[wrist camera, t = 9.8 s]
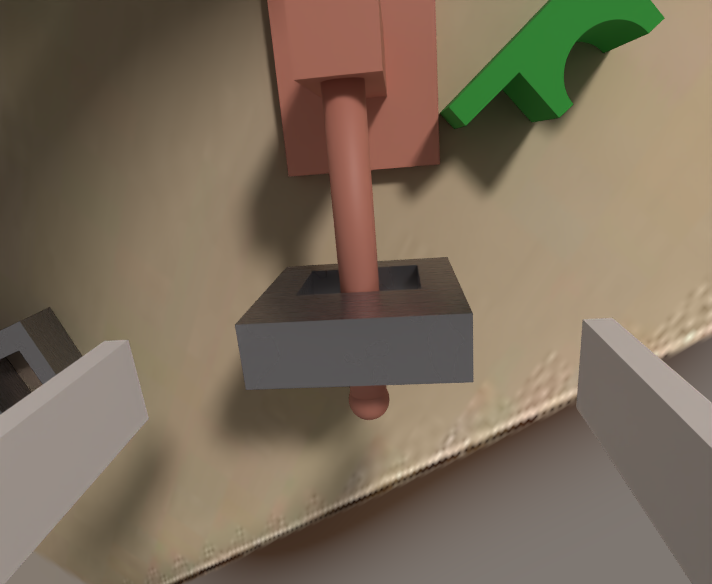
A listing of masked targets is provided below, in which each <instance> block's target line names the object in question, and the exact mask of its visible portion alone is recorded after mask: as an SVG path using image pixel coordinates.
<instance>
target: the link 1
mask: <svg viewBox="0 0 712 584" xmlns="http://www.w3.org/2000/svg"><path fill="white" fill-rule="evenodd" d="M17 351H20V352H21V354H22V355H23V357H24V358H25V360H26V361H27V362H28V364H29V365H30V367H31V368H32V370H33V371H34V373H35V374H36V375H37V377H38V378H39V380H40V381H41V383H42V384H44V383H46V382H47V381H49V380H50V379H51V378H53V377H54V376H56V375H57V374H59V373H60V372H61V371H63V370H64V369H66V368H67V367H68V366H70V365H71V364H73V363H74V362H75V361H77V360H78V359H80V358H81V357H82V355H81V354H80V352H79V351H78V349H77V348H76V346H75V345H74V343H73V342H72V340H71V339H70V337H69V336H68V334H67V333H66V331H65V330H64V328H63V327H62V325H61V324H60V322H59V321H58V319H57V317H56V316H55V314H54V313H53V311H52V310H51V308H50V307H49V308H47V309H45V310H43V311H41V312H39V313H37V314H34V315H32V316H30V317H28V318H26V319H24V320H22V321H19V322H17V323H15V324H13V325H11V326H9V327H7V328H5V329H3V330H1V331H0V415H1V414H2V413H3V412H5V411H6V410H8V409H9V408H11V407H12V406H13V405H15V404H16V403H18V402H19V401H20V400H22V399H23V398H25V397H26V396H27V395H29V394H30V393H31V392H30V391H29V389H28V388H27V386H26V385H25V383H24V382H23V381H22V379H21V378H20V376H19V375H18V374H17V372H16V371H15V369H14V368H13V367H12V365H11V364H10V362H9V361H8V359H7V358H6V356H8V355H10V354H12V353H15V352H17Z"/></svg>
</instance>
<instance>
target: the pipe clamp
mask: <svg viewBox="0 0 712 584" xmlns="http://www.w3.org/2000/svg"><path fill="white" fill-rule="evenodd" d="M663 19H664V17H663V15H662V14H661V13H660V12H659V10H658V9H657V8H656V7H655V5H654V4H653V3H652V1H651V0H549V1H548V2H547V3H546V4H545V5H544V6H543V7H542V8H541V9H540V10H539V11H538V12H537V13H536V14H535V15H534V16H533V17H532V18H531V19H530V20H529V21H528V22H527V23H526V25H525V26H524V27H523V28H522V29H521V30H520V31H519V32H518V33H517V34H516V35H515V36H514V37H513V38H512V39H511V40H510V41H509V42H508V43H507V44H506V45H505V46H504V47H503V48H502V49H501V50H500V51H499V52H498V53H497V55H496V56H495V57H494V58H493V59H492V60H491V61H490V62H489V63H488V64H487V65H486V66H485V67H484V68H483V69H482V70H481V71H480V72H479V73H478V74H477V75H476V76H475V77H474V78H473V79H472V80H471V81H470V82H469V84H468V85H467V86H466V87H465V88H464V89H463V90H462V91H461V92H460V93H459V94H458V95H457V96H456V97H455V98H454V99H453V100H452V101H451V102H450V103H449V104H448V105H447V106H446V107H445V108H444V109H443V110H442V111H441V112H440V114H441V115H442V116H443V117H444V119H445V120H446V121H447V122H448V123H449V124H450V125H451V126H452V127H453V128H454V129H456V128H460V127H463V126H466V125H467V124H468V123H469V122H470V121H471V120H472V119H473V118H474V117H475V116H476V115H477V114H478V113H479V112H480V111H481V110H482V109H483V108H484V107H485V106H486V105H487V104H488V103H489V102H490V101H491V100H492V99H493V98H494V97H495V96H496V95H497V94H498V93H499V92H500V91H501V90H503V91H504V92H505V93H506V94H507V95H508V96H509V98H510V99H511V100H512V101H513V102H514V103H515V104H516V105H517V107H518V108H519V109H520V110H521V111H522V112H523V113H524V114H525V116H526V117H527V118H528V119H529V120H530V121H531V122H537V121H543V120H549V119H555V118H560V117H561V116H562V115H563V114H564V113H565V112H566V111H567V110H568V109H569V108H570V107H571V106H572V105H573V103H572V102H571V100H570V99H569V97H568V95H567V93H566V89H565V85H564V67H565V63H566V60H567V57H568V54H569V52H570V50H571V48H572V47H573V45H574V44H575V42H585V43H589V44H592V45H594V46H596V47H597V48H599V49H600V50H601V51H602V52H603V53H605V52H607V51H610V50H612V49H614V48H617V47H619V46H621V45H623V44H626V43H628V42H630V41H632V40H635V39H637V38H639V37H641V36H644V35H646V34H648V33H650V32H651V31H652V30H653V29H654V28H655V27H656V26H657V25H658V24H659V23H660V22H661V21H662V20H663Z"/></svg>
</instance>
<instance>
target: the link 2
mask: <svg viewBox="0 0 712 584" xmlns="http://www.w3.org/2000/svg"><path fill="white" fill-rule="evenodd" d="M377 263H378V277H379V291H371V292H353V293H341V291H340V280H339V270H338V264H325V265H309V266H292V267H286V268H285V270H284V271H283V272H282V273H281V274H280V275H279V276H278V277H277V278H276V280H275V281H274V282H273V283H272V284H271V285H270V286H269V287H268V288H267V290H266V291H265V292H264V293H263V294H262V295H261V296H260V297H259V298H258V300H257V301H256V302H255V303H254V304H253V305H252V306H251V307H250V309H249V310H248V311H247V312H246V313H245V314H244V315H243V316H242V317H241V319H240V320H239V321H238V322H237V323H236V324H235V328H236V334H237V340H238V346H239V352H240V358H241V364H242V370H243V375H244V381H245V387H246V390H254V389H284V388H314V387H344V386H374V385H404V384H434V383H464V382H473V313H472V311H471V308H470V306H469V304H468V302H467V300H466V297H465V295H464V293H463V291H462V288H461V286H460V284H459V282H458V280H457V277H456V275H455V273H454V271H453V268H452V266H451V264H450V262H449V260H448V257H440V258H424V259H407V260H391V261H377Z"/></svg>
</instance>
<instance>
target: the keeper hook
mask: <svg viewBox="0 0 712 584" xmlns="http://www.w3.org/2000/svg"><path fill="white" fill-rule="evenodd" d="M267 2H268V10H269V18H270V27H271V35H272V43H273V51H274V60H275V68H276V76H277V84H278V93H279V101H280V109H281V117H282V126H283V134H284V142H285V150H286V158H287V167H288V175H289V177H290V176H302V175H314V174H326V173H329V177H330V187H331V197H332V208H333V218H334V228H335V239H336V249H337V260H338V270H339V280H340V291H341V293H353V292H371V291H379V277H378V263H377V249H376V235H375V221H374V207H373V193H372V179H371V170H376V169H388V168H400V167H412V166H425V165H437V164H440V153H439V118H438V84H437V49H436V15H435V0H267ZM349 404H350V407H351V409H352V411H353V412H354V413H355V414H356V415H357V416H358V417H360V418H362V419H365V420H373V419H377V418H379V417H380V416H382V415H383V414H384V413H385V411H386V410H387V408H388V405H389V393H388V391H387V389H386V385H374V386H350V394H349Z"/></svg>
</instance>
